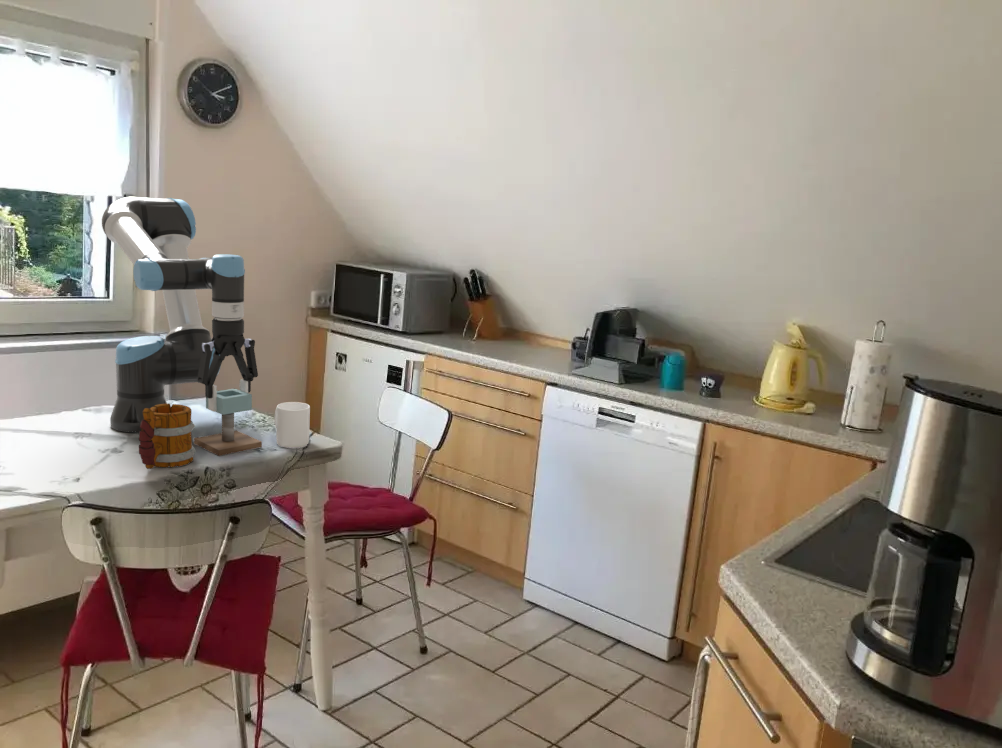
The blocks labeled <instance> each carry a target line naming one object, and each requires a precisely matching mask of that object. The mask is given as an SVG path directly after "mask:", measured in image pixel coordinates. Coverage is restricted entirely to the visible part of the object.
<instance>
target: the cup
mask: <svg viewBox="0 0 1002 748" xmlns="http://www.w3.org/2000/svg"><path fill="white" fill-rule="evenodd" d="M310 413H311V406H310V405H309V404H308V403H306V402H299V401H288V402H281V403H278V404H277V405H276V408H275V412H274V417H273V418H274V419H273V420H274V427H275V429H276V436H275V437H276V444H277V445H278V446H279V447H281V448H285V449H299V448H300V447H301V448H304V447H306V446H308V445H307V444H309V442H310V427H311V426H310V421H311V420H310V419H311V418H310V417H311V416H310V415H311V414H310ZM303 446H304V447H303ZM301 448H300V449H301Z"/></svg>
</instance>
